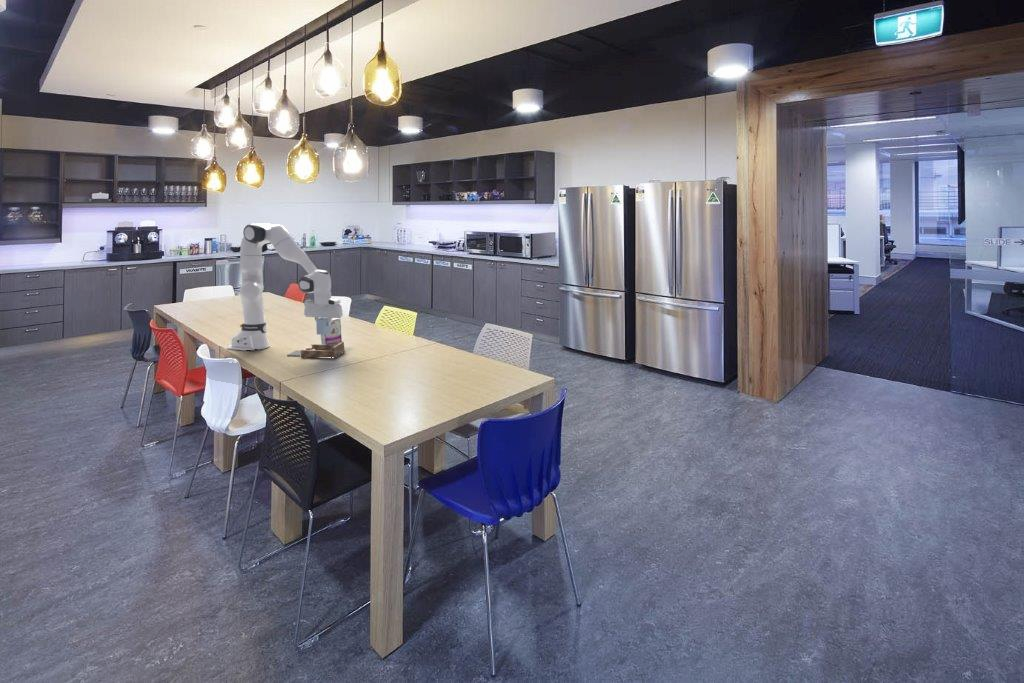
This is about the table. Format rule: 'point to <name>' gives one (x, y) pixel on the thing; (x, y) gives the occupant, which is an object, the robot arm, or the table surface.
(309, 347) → the offcut short
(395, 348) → the table surface
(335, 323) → the candy bar box
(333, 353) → the tray
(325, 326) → the blue-grey box
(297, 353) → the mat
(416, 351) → the table surface
